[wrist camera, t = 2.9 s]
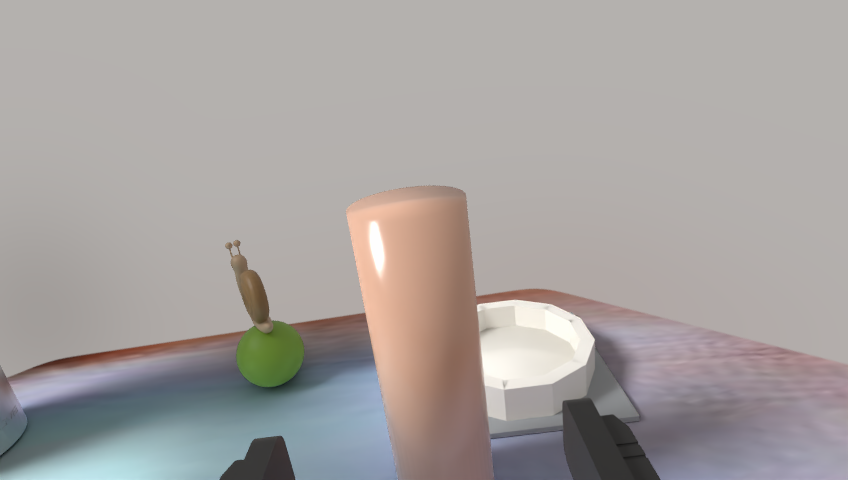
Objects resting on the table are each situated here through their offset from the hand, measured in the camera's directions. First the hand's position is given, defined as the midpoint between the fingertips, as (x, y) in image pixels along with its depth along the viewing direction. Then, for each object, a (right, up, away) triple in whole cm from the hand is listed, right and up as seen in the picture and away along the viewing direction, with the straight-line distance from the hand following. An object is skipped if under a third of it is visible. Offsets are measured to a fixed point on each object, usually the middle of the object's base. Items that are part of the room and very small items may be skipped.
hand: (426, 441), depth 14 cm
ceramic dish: (+7, -4, +25) cm, 26 cm away
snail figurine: (-13, -6, +28) cm, 31 cm away
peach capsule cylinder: (+1, -9, +15) cm, 17 cm away
